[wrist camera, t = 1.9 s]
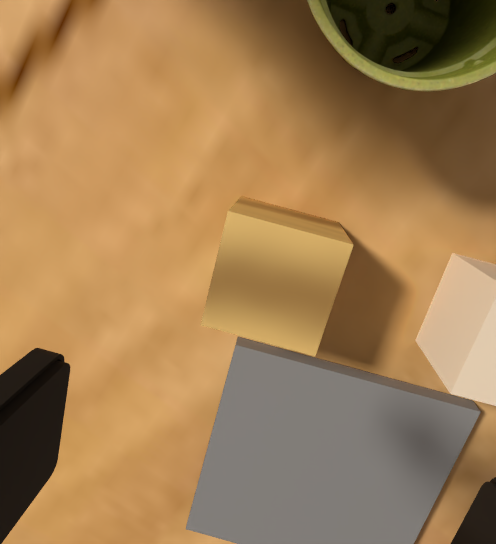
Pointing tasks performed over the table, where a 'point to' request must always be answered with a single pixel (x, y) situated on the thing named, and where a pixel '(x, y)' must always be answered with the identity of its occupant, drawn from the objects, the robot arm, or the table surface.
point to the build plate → (324, 453)
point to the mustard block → (276, 275)
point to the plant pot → (414, 40)
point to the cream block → (463, 329)
